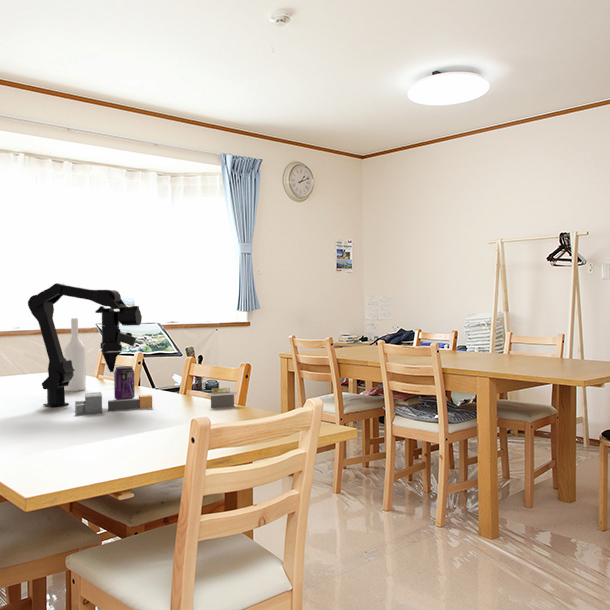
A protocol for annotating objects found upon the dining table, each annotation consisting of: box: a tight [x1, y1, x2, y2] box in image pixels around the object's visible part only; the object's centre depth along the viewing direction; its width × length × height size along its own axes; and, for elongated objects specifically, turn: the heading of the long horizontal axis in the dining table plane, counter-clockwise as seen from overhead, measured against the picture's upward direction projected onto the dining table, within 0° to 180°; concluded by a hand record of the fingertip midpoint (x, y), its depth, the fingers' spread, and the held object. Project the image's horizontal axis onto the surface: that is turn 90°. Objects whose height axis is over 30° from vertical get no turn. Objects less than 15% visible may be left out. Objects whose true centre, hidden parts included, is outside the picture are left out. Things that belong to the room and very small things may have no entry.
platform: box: [207, 387, 238, 409], centre depth 196 cm, size 12×18×7 cm, turn 112°
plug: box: [107, 394, 153, 412], centre depth 195 cm, size 14×4×4 cm, turn 111°
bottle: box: [64, 317, 87, 392], centre depth 243 cm, size 8×8×30 cm
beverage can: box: [113, 365, 136, 400], centre depth 215 cm, size 7×7×12 cm
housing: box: [74, 391, 103, 416], centre depth 190 cm, size 8×10×6 cm
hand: (111, 370), depth 202 cm, fingers open, 9 cm apart
